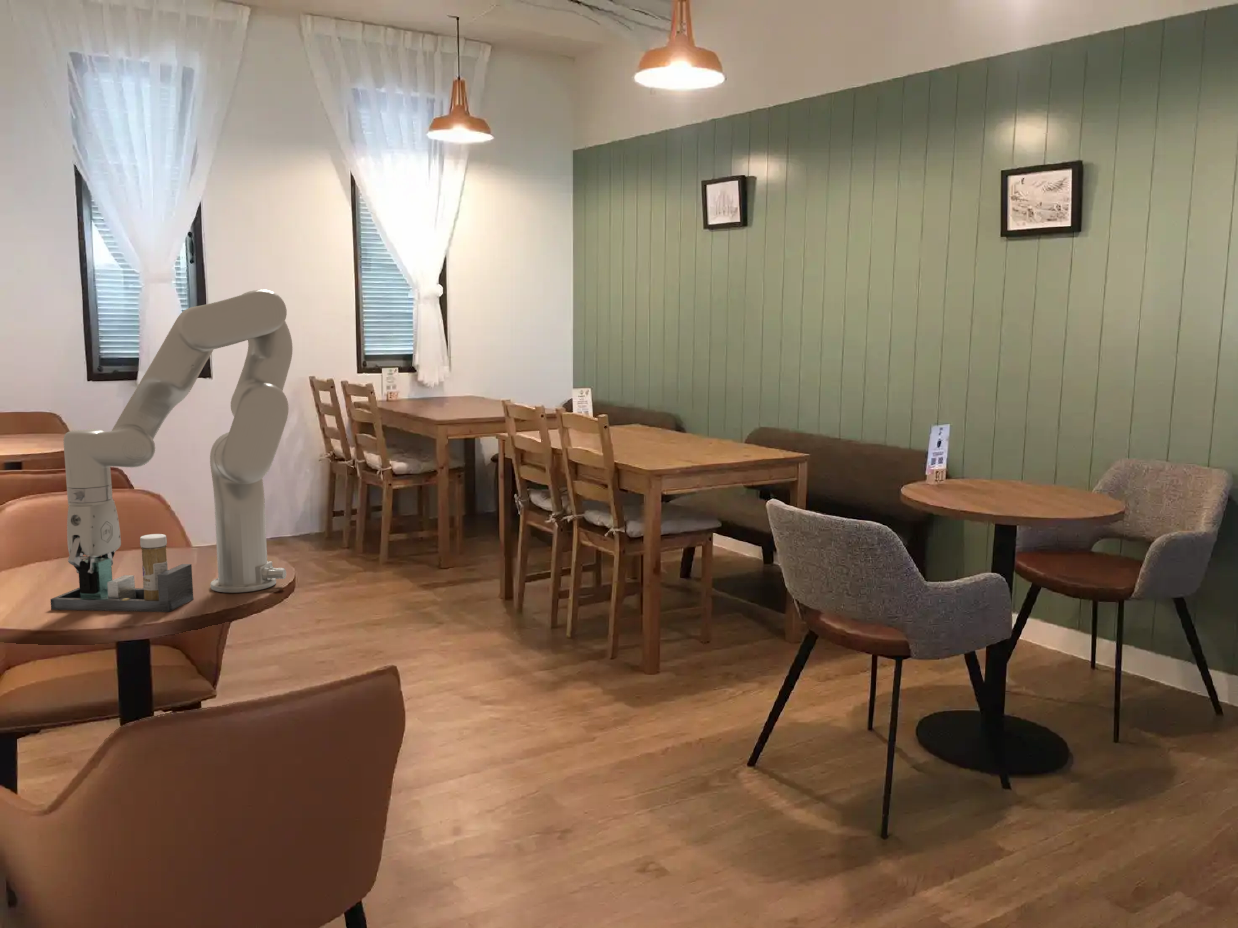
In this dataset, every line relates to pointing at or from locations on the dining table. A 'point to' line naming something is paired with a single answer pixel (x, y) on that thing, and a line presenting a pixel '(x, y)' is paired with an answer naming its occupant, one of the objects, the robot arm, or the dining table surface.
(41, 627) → the dining table surface
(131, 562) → the dining table surface
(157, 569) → the sprinkles bottle
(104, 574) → the press carriage
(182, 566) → the frame
